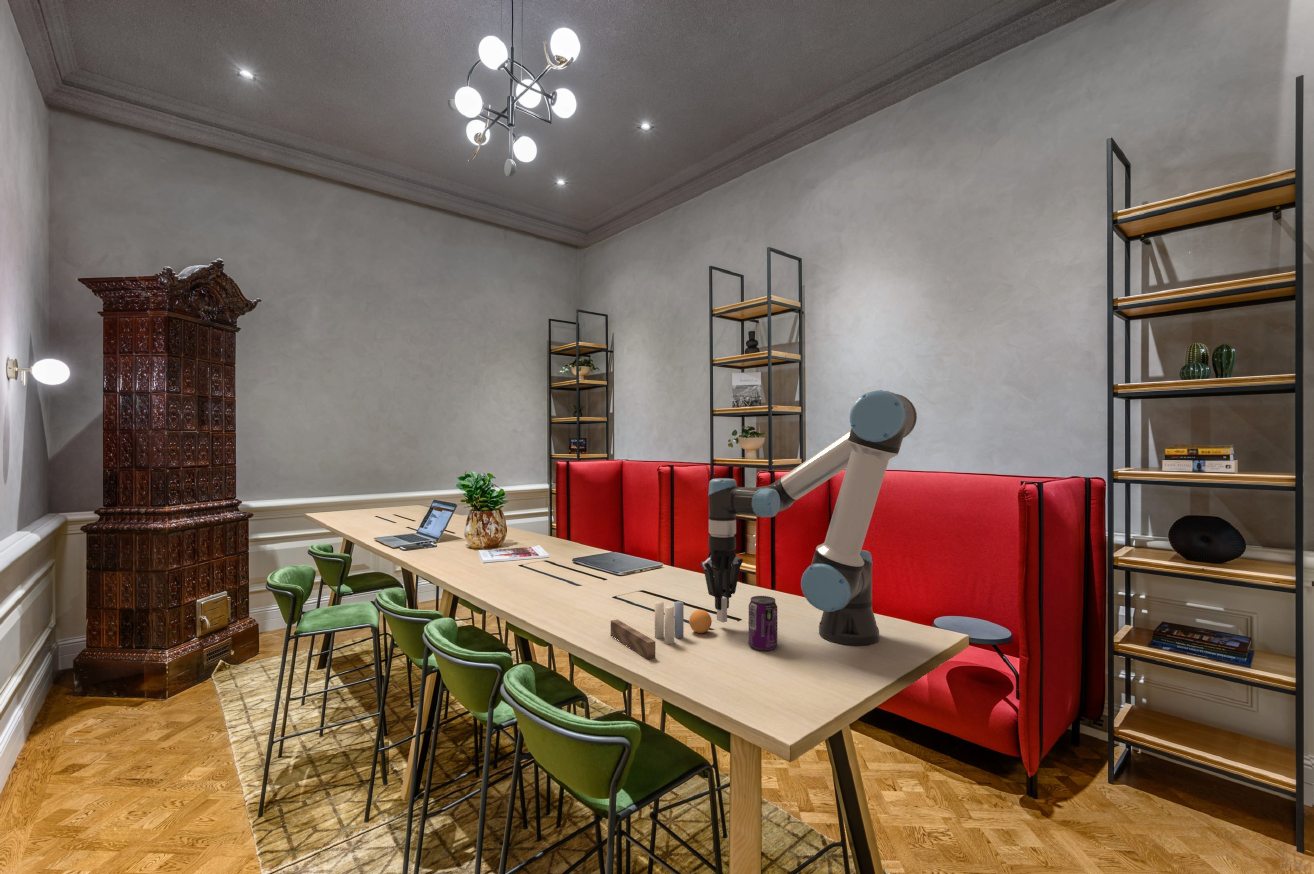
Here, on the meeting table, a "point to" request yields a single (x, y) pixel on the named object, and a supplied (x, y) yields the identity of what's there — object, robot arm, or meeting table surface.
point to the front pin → (678, 619)
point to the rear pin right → (659, 620)
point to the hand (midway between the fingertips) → (721, 620)
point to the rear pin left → (669, 625)
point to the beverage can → (763, 623)
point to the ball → (700, 621)
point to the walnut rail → (633, 639)
